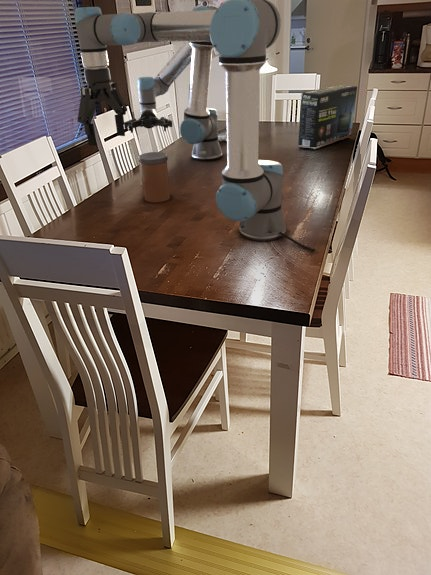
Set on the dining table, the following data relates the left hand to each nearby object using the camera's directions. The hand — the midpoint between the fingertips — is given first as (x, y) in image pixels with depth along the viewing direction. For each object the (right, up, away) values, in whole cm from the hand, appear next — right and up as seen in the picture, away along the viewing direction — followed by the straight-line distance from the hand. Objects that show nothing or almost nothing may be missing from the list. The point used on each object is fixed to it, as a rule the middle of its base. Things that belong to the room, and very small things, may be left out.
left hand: (148, 128), depth 188 cm
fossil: (+38, +17, +69) cm, 81 cm away
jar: (+5, -30, -6) cm, 31 cm away
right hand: (-7, -18, -40) cm, 44 cm away
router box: (+86, +12, +57) cm, 104 cm away
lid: (+4, -16, -15) cm, 22 cm away
